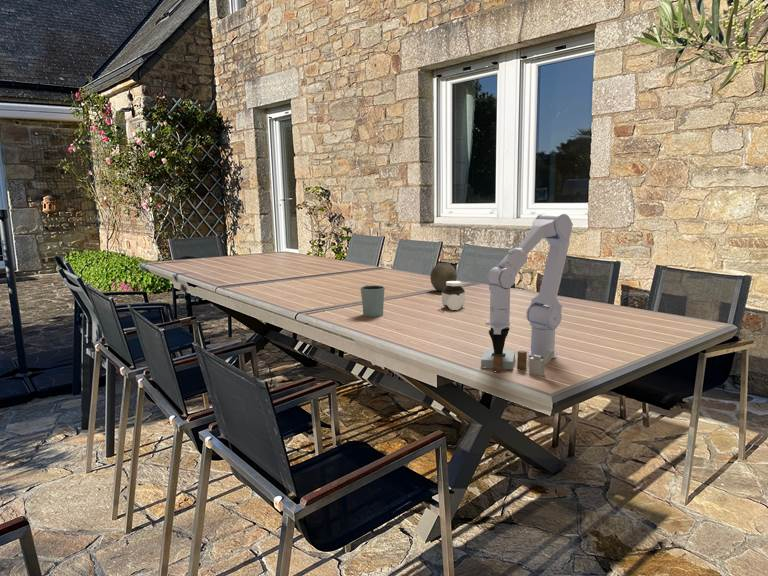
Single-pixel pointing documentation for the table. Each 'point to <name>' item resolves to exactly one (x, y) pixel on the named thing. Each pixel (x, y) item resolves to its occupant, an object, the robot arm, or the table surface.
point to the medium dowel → (522, 360)
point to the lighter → (540, 363)
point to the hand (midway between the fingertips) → (498, 352)
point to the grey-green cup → (372, 300)
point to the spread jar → (453, 295)
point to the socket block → (507, 359)
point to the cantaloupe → (442, 275)
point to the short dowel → (497, 363)
